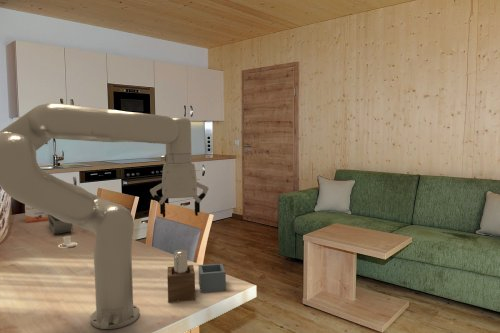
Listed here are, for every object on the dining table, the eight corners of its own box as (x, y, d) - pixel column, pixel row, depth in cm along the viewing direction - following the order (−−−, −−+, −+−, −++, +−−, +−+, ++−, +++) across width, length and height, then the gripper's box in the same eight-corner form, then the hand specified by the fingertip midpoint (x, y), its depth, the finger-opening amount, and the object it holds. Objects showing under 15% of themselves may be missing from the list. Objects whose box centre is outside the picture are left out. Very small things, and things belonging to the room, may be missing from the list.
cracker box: (25, 223, 208) (23, 185, 206) (26, 220, 213) (23, 183, 211) (54, 220, 215) (52, 183, 213) (54, 217, 220) (52, 182, 218)
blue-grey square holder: (225, 290, 121) (225, 272, 121) (200, 292, 120) (200, 274, 119) (222, 280, 129) (222, 263, 129) (198, 282, 128) (198, 265, 127)
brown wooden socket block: (195, 299, 115) (194, 274, 114) (168, 302, 113) (167, 276, 112) (193, 289, 122) (193, 265, 122) (168, 291, 121) (167, 266, 120)
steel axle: (188, 297, 116) (187, 253, 115) (174, 298, 115) (173, 254, 114) (187, 292, 120) (186, 249, 119) (174, 293, 119) (173, 249, 118)
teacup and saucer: (77, 248, 166) (76, 239, 165) (56, 250, 163) (56, 241, 162) (78, 242, 174) (77, 233, 173) (58, 244, 171) (58, 235, 170)
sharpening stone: (73, 234, 185) (72, 212, 184) (55, 237, 181) (54, 214, 179) (64, 224, 205) (63, 204, 204) (48, 226, 201) (47, 206, 200)
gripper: (148, 161, 108) (150, 220, 110) (209, 159, 112) (210, 217, 113) (149, 159, 115) (151, 214, 117) (206, 157, 119) (207, 211, 121)
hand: (180, 215), depth 115 cm, fingers open, 9 cm apart
